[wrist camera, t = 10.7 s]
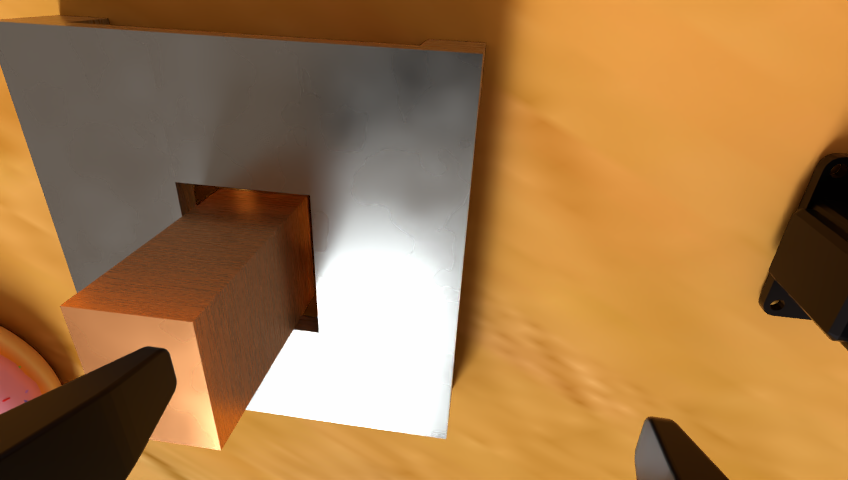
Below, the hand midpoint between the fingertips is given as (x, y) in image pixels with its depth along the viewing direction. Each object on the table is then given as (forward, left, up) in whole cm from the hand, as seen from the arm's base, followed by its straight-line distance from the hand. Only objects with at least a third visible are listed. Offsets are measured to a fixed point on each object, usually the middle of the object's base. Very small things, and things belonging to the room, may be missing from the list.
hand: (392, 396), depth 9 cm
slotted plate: (+7, +3, -12) cm, 14 cm away
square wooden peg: (+7, +3, -12) cm, 14 cm away
